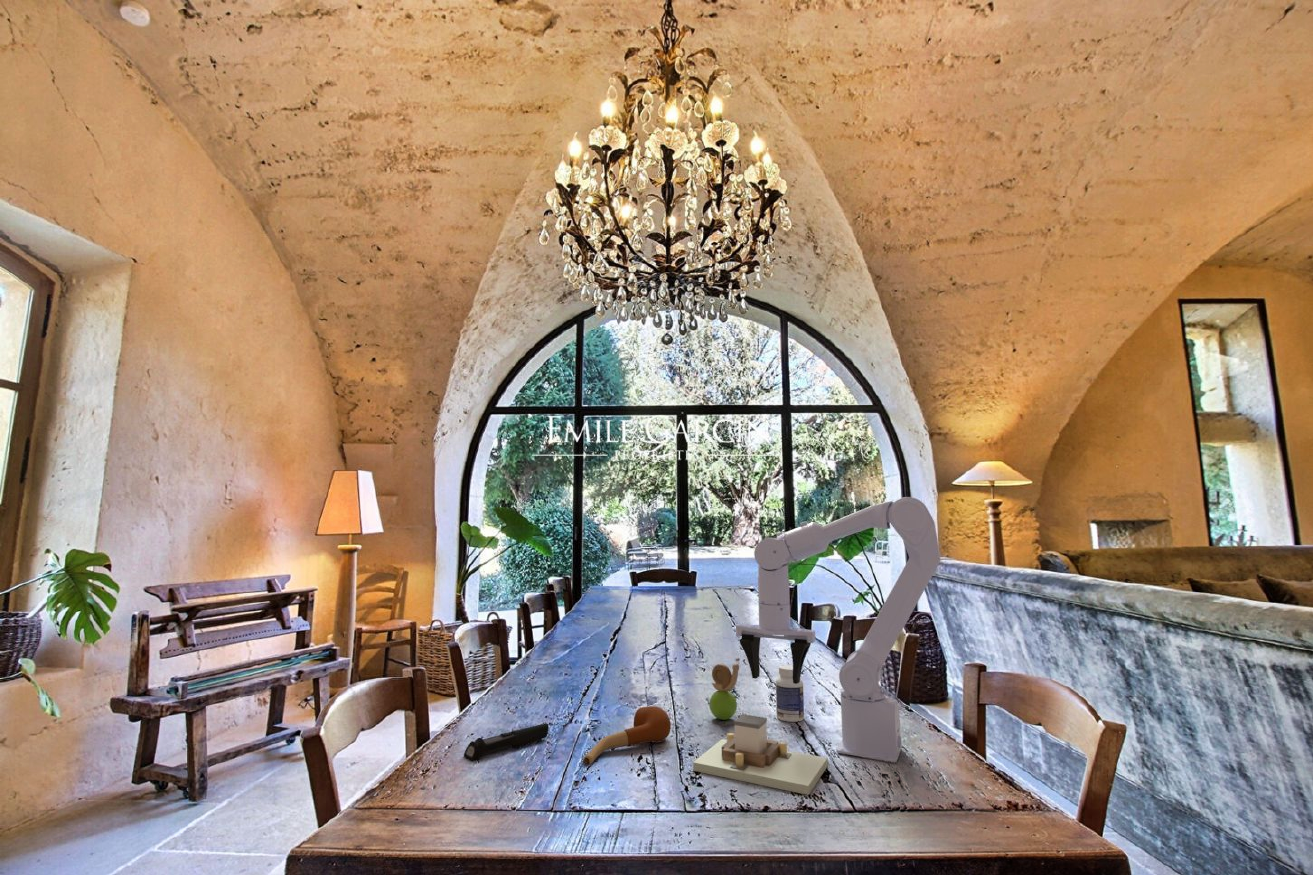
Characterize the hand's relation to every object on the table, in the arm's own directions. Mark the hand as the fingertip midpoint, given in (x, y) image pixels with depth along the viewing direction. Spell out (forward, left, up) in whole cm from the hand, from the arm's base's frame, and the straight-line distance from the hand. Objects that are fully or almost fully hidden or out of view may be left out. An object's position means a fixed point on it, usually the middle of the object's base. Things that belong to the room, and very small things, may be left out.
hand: (775, 679), depth 110 cm
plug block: (0, +14, -9) cm, 16 cm away
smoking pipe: (+20, +18, -10) cm, 29 cm away
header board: (-2, +15, -10) cm, 18 cm away
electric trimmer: (+39, +28, -10) cm, 49 cm away
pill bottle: (+1, -12, -10) cm, 16 cm away
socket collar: (0, +14, -9) cm, 16 cm away
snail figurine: (+12, -5, -10) cm, 16 cm away
